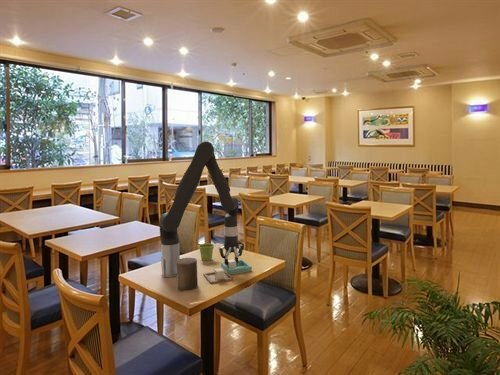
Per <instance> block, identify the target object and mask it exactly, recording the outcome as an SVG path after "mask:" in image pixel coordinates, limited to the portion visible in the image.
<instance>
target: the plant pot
mask: <svg viewBox="0 0 500 375" xmlns="http://www.w3.org/2000/svg"><path fill="white" fill-rule="evenodd" d="M214 247H215V244H214V243H209V242H208V243H201V244H198V249H199V250H200V251H199V253H200V258H201V260H202V261H203V262H204V261H205V262H207V261H208V262H209V261H211V260H213V251H214Z"/></svg>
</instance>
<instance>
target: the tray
mask: <svg viewBox="0 0 500 375" xmlns="http://www.w3.org/2000/svg"><path fill="white" fill-rule="evenodd" d="M223 270H224V269H223ZM224 273H225V279H221V280H216V279H215V271H211V272H203V273H202V274H203V277H204V278H205V279H206V280H207V281H208V283H209V284H210V285H213V284H217V283H223V282H224V283H225V282H229V281H233V280H234V278H233V276H232V274H229V273H228V272H227V271H226V270H224Z"/></svg>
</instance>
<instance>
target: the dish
mask: <svg viewBox="0 0 500 375" xmlns="http://www.w3.org/2000/svg"><path fill="white" fill-rule="evenodd" d="M220 264H221V265H220V266H221V267H220V268H223V270H226V271H227V272H228V273H229V274H230V275H235V274H241V273H247V272H248V273H249V272H252V271H253V270H252V266H251V265H250V264H249V263H248V262H247V261H246V260H244V259H238V263H237V264H236V268H235V269H229V268H228V267H227V265H226V264H225V261H224V262H223V261H221V263H220Z"/></svg>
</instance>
